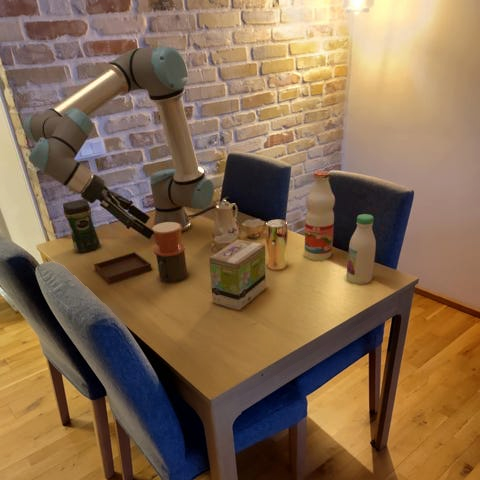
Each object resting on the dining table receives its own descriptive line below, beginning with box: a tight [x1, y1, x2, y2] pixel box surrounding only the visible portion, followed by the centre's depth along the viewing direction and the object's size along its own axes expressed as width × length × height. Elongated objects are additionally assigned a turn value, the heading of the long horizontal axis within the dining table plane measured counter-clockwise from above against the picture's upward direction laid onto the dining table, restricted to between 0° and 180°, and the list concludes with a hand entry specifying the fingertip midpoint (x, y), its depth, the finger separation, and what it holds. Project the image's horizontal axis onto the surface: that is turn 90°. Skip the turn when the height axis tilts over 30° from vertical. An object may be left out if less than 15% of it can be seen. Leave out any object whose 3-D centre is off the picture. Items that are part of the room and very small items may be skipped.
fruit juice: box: [304, 170, 336, 261], centre depth 143 cm, size 9×9×28 cm
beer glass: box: [265, 219, 289, 271], centre depth 141 cm, size 7×7×15 cm
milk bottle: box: [346, 213, 377, 285], centre depth 129 cm, size 8×8×20 cm
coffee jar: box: [62, 198, 101, 253], centre depth 163 cm, size 10×8×19 cm
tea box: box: [208, 238, 267, 311], centre depth 126 cm, size 15×10×15 cm, turn 148°
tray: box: [93, 251, 153, 285], centre depth 149 cm, size 15×13×2 cm
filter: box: [150, 222, 186, 256], centre depth 137 cm, size 10×10×9 cm
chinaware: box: [210, 197, 266, 253], centre depth 161 cm, size 28×17×17 cm, turn 148°
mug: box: [155, 250, 188, 284], centre depth 139 cm, size 12×9×10 cm
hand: (149, 227), depth 133 cm, fingers open, 13 cm apart
